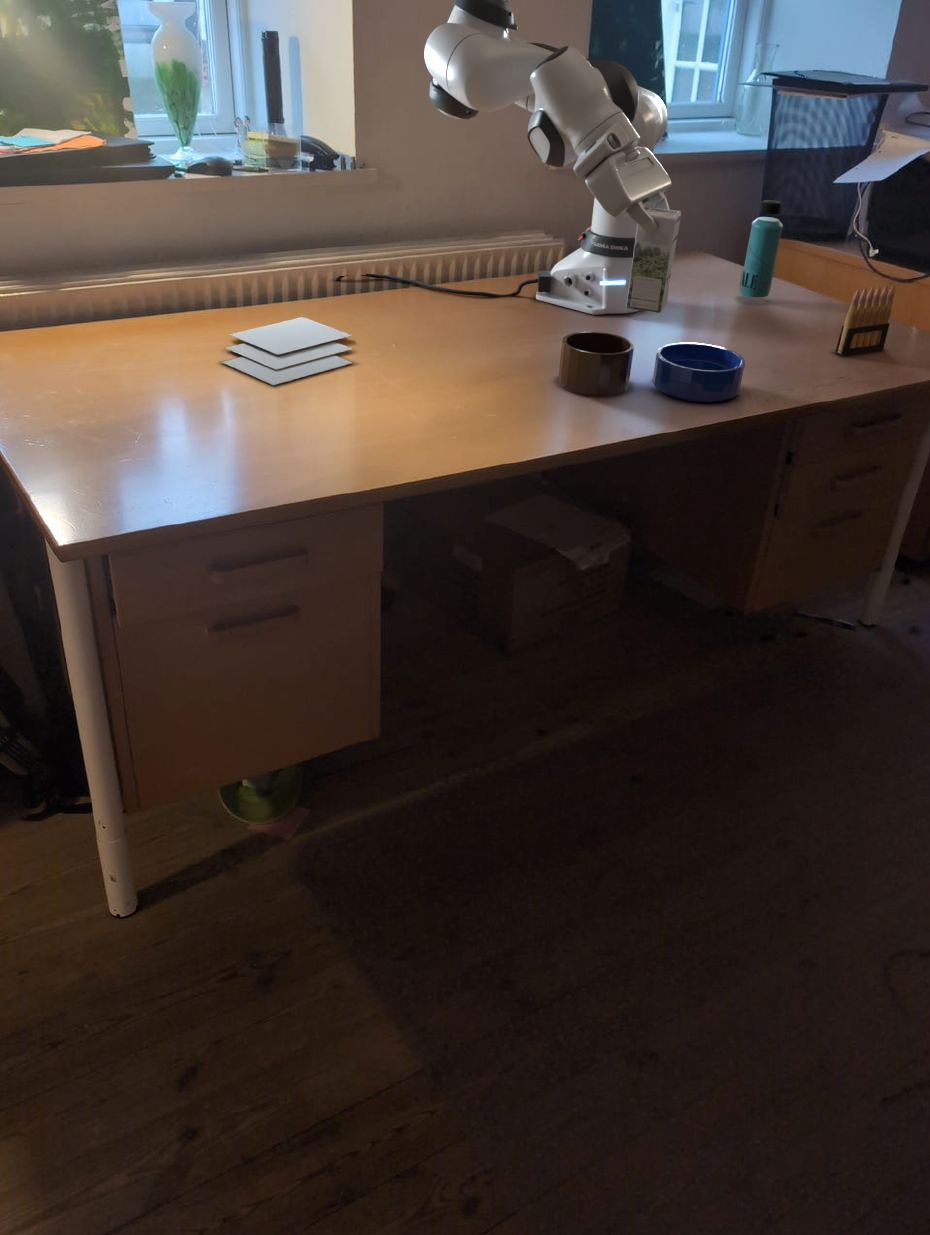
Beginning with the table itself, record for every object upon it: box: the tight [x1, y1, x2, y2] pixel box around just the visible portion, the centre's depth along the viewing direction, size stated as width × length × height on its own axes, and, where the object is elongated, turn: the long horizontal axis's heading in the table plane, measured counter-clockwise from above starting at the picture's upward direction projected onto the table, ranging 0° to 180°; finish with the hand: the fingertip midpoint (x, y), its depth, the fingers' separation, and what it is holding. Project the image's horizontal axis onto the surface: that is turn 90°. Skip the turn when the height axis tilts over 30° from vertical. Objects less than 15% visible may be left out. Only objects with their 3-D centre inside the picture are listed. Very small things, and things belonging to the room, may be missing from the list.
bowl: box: [651, 342, 746, 403], centre depth 166 cm, size 14×14×6 cm
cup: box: [557, 331, 635, 398], centre depth 165 cm, size 12×12×7 cm
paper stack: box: [221, 316, 353, 386], centre depth 173 cm, size 23×25×1 cm
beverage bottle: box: [739, 199, 784, 298], centre depth 209 cm, size 6×7×20 cm
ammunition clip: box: [834, 284, 896, 357], centre depth 185 cm, size 11×2×12 cm, turn 117°
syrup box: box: [626, 207, 682, 314], centre depth 156 cm, size 6×6×14 cm
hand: (661, 227), depth 153 cm, fingers closed on syrup box, 6 cm apart
